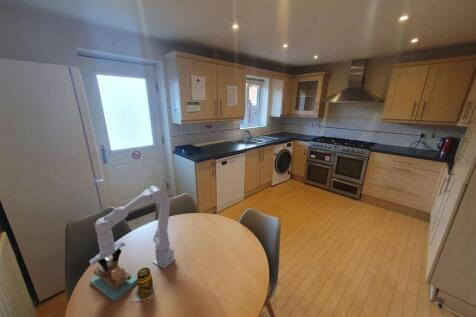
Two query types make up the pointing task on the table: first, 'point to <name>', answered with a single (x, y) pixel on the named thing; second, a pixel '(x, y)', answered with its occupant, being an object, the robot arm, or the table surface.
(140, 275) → the condiment
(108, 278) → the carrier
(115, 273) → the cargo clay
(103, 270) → the block
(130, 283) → the dock
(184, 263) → the table surface
